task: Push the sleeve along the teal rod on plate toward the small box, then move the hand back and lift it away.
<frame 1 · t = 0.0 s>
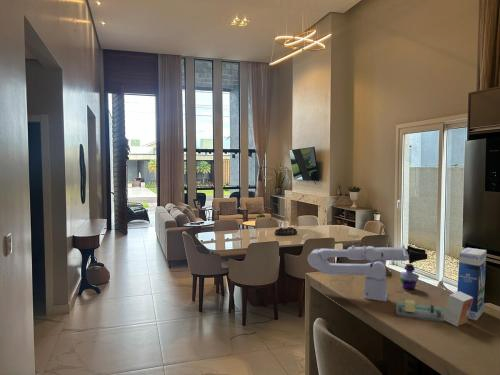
hand: (426, 254, 156), 22 cm above the kitchen island, tool horizontal, fingers open, 7 cm apart
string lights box: (469, 314, 147), on the kitchen island
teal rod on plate: (419, 314, 145), on the kitchen island
small box: (454, 321, 139), on the kitchen island
sleeve: (409, 305, 146), point 3 cm above the kitchen island, slide at -3.5 cm
potion bottle: (408, 288, 177), on the kitchen island
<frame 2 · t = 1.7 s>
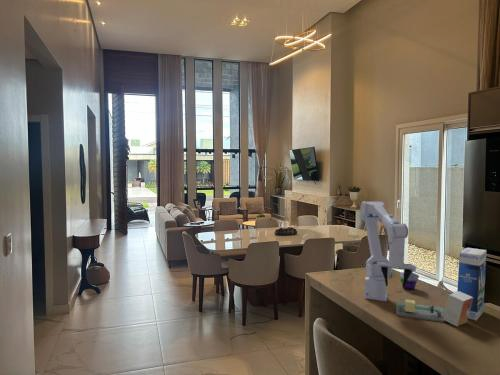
hand: (395, 286, 148), 10 cm above the kitchen island, tool pointing down, fingers open, 6 cm apart
small box: (454, 321, 139), on the kitchen island, touching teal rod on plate
everything else where it was.
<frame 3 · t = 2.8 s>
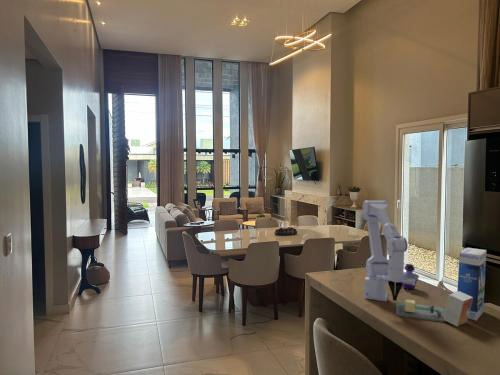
hand: (394, 299, 148), 5 cm above the kitchen island, tool pointing down, fingers closed
nothing on the kitchen island moved.
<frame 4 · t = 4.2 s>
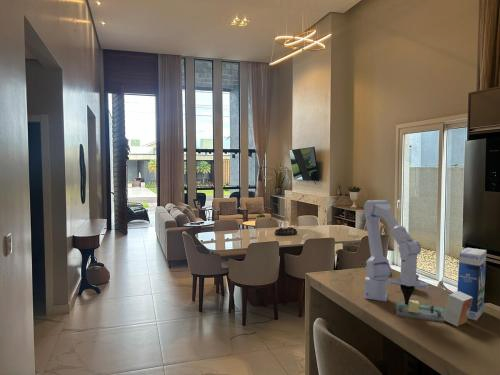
hand: (406, 303, 146), 4 cm above the kitchen island, tool pointing down, fingers closed, pressing on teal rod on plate
sleeve: (413, 306, 146), point 3 cm above the kitchen island, slide at -2.1 cm, touching gripper
everything else where it was.
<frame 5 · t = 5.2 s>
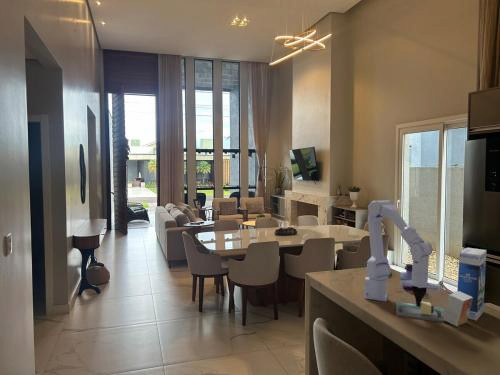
hand: (418, 305, 145), 4 cm above the kitchen island, tool pointing down, fingers closed, pressing on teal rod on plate
sleeve: (425, 308, 144), point 3 cm above the kitchen island, slide at 2.2 cm, touching gripper
everything else where it was.
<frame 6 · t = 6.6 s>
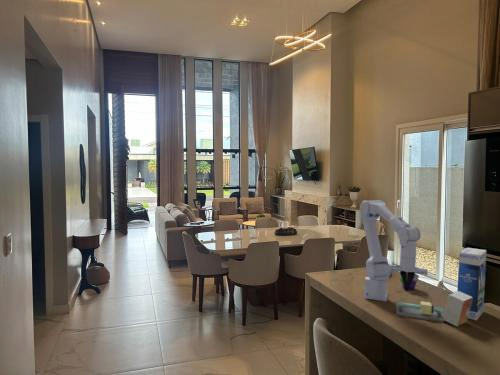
hand: (406, 290, 146), 9 cm above the kitchen island, tool pointing down, fingers closed
sleeve: (425, 308, 144), point 3 cm above the kitchen island, slide at 2.3 cm, touching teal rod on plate
everything else where it was.
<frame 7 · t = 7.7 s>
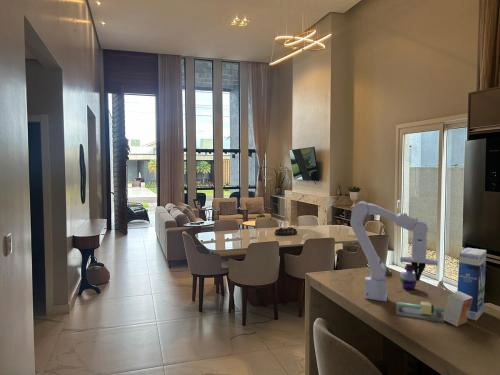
hand: (417, 280, 157), 10 cm above the kitchen island, tool pointing down, fingers closed
nothing on the kitchen island moved.
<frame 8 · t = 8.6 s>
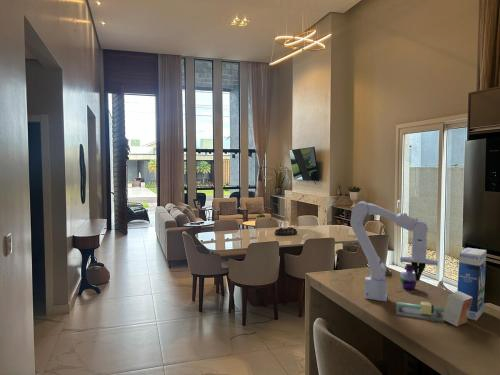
hand: (417, 280, 157), 10 cm above the kitchen island, tool pointing down, fingers closed
nothing on the kitchen island moved.
at the end: sleeve slide at 2.3 cm; small box moved 0.3 cm from its start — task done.
